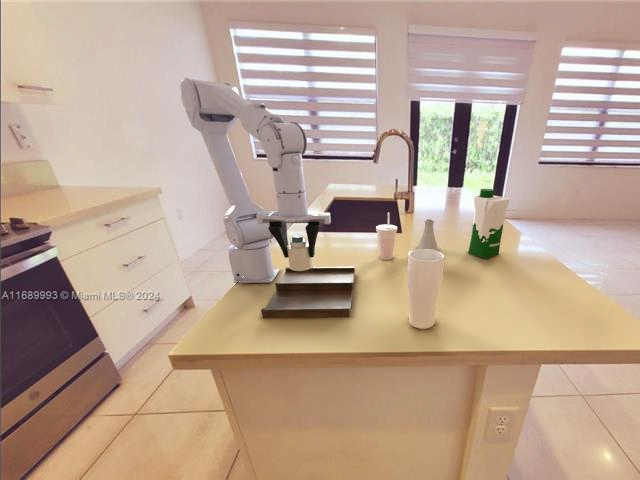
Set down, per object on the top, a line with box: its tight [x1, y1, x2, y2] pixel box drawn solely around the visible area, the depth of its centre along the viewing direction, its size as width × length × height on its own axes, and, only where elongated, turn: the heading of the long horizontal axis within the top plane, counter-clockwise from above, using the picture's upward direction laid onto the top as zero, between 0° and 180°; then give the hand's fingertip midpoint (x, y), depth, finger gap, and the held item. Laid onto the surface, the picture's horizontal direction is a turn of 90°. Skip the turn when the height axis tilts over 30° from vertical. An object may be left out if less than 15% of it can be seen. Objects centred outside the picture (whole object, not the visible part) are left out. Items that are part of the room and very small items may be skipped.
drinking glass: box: [406, 248, 445, 330], centre depth 61 cm, size 7×7×15 cm
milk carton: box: [467, 188, 510, 260], centre depth 98 cm, size 9×9×20 cm
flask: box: [416, 218, 439, 251], centre depth 103 cm, size 7×7×10 cm
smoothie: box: [375, 211, 398, 261], centre depth 95 cm, size 6×6×14 cm
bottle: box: [287, 234, 313, 271], centre depth 68 cm, size 5×5×7 cm
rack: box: [260, 266, 356, 319], centre depth 74 cm, size 18×21×3 cm
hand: (299, 256), depth 68 cm, fingers closed on bottle, 5 cm apart
